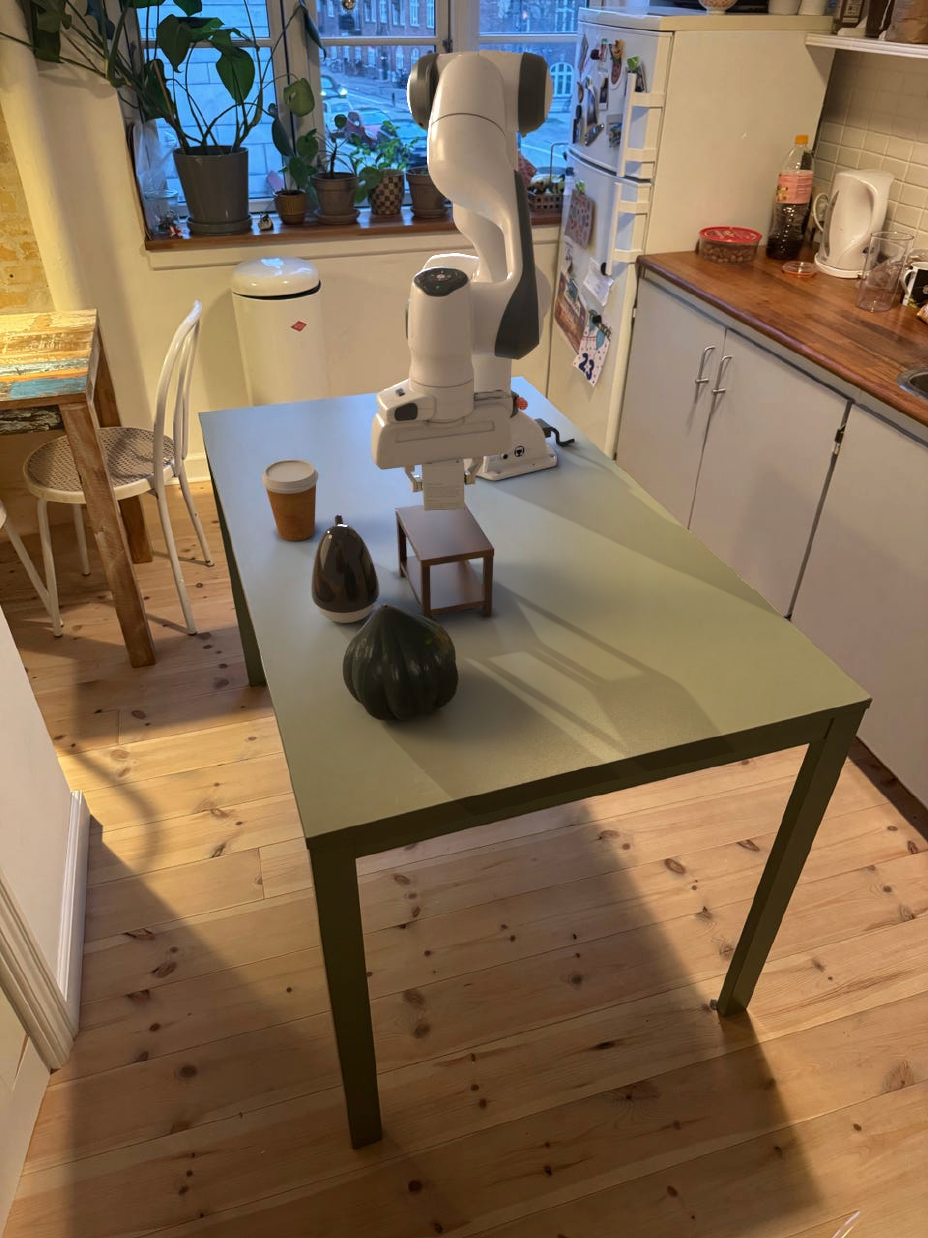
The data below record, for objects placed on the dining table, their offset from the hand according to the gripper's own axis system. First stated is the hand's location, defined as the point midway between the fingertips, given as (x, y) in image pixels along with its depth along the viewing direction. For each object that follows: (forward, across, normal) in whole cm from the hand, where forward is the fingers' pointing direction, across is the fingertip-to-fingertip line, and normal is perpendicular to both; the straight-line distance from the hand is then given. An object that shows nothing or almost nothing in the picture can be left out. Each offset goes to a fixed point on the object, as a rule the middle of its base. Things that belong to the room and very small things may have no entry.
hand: (442, 486), depth 129 cm
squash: (+19, +12, +23) cm, 32 cm away
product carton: (+3, 0, 0) cm, 3 cm away
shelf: (+19, 0, 0) cm, 19 cm away
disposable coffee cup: (+19, +20, -26) cm, 38 cm away
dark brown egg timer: (+19, +16, +1) cm, 25 cm away
